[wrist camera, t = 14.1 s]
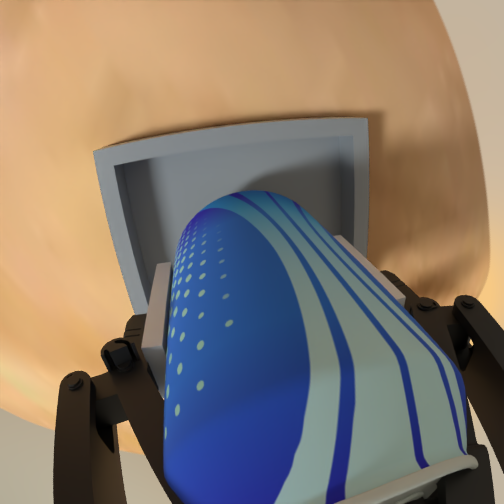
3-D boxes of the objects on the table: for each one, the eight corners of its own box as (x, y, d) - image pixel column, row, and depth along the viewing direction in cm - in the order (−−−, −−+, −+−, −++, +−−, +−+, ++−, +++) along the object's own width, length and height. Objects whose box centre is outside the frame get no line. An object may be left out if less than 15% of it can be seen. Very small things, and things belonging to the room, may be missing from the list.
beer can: (298, 315, 22) (405, 536, 7) (172, 310, 20) (175, 580, 6) (328, 194, 19) (561, 388, 4) (182, 176, 17) (146, 503, 2)
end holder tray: (157, 348, 23) (155, 370, 21) (105, 146, 17) (93, 151, 15) (346, 314, 25) (359, 332, 23) (348, 116, 19) (367, 118, 16)
